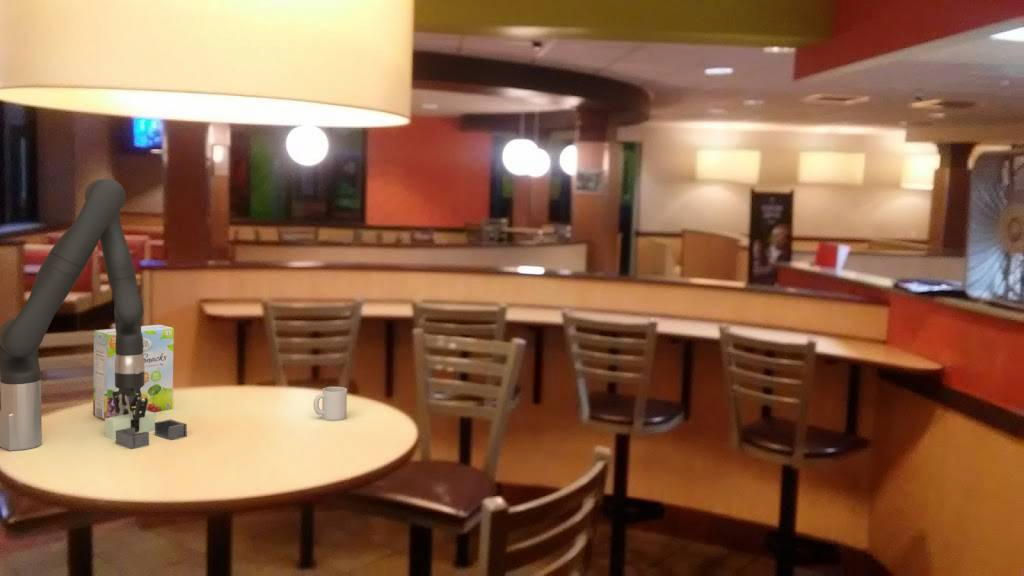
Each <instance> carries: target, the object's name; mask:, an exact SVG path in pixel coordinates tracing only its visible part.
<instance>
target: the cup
mask: <svg viewBox="0 0 1024 576" xmlns="http://www.w3.org/2000/svg"><path fill="white" fill-rule="evenodd" d="M321 399H322V405H321V406H322V409H321V408H320V400H321ZM347 400H348V389H347V388H346V387H343V386H327V387H324V388H322V392H321V393H318V394H317V395H316V396H315V397H314V399H313V410H314V412H315V414H317V415H320V416H322V418H323V420H325V421H327V422H328V421H330V422H332V421H333V422H335V421H336V422H337V421H338V422H339V421H343V420H345V419H346V418H347V411H348V409H347V408H348V407H347V406H348V405H347V404H348V401H347Z"/></svg>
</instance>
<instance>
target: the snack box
mask: <svg viewBox="0 0 1024 576" xmlns="http://www.w3.org/2000/svg"><path fill="white" fill-rule="evenodd" d="M141 333H142V337H143V356H144V386H143V387H141V389H140V391H141V396H142V397H143V398H147V399H148V402H147V407H146V410H147V411H150V412H153V413H156V412H160V411H161V412H162V411H166V410H168V411H169V410H173V401H174V400H173V397H174V396H173V395H174V393H173V392H174V390H173V388H174V345H175V343H174V341H175V338H174V337H175V328H174V327H171V326H167V325H163V324H151V325H150V324H149V325H141ZM115 357H116V328H110V329H109V328H108V329H99V330H94V331H93V381H92V382H93V389H92V391H93V392H92V393H93V394H92V395H93V398H92V399H93V404H92V405H93V406H92V415H93V416H95V417H98V418H99V419H102V420H104V421H105V418H110V417H115V416H120V415H119V413H116V410H115V405H114V399H113V394H112V393H113V392H115V391H119V388H116V387H115ZM118 405H119V404H118ZM132 408H136V406H134V407H132ZM140 412H141V411H140ZM134 413H135V411H134Z"/></svg>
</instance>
